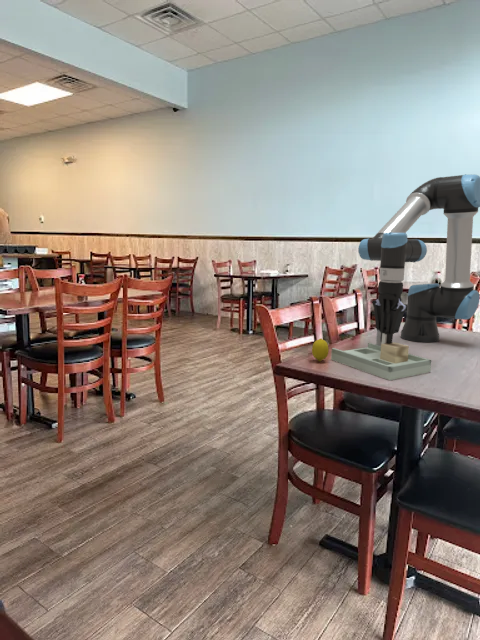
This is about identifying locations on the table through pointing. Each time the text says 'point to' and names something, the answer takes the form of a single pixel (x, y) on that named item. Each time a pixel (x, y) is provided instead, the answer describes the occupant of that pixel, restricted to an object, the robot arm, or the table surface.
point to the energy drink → (378, 338)
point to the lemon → (320, 349)
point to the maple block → (394, 352)
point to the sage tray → (381, 362)
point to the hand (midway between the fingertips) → (385, 352)
